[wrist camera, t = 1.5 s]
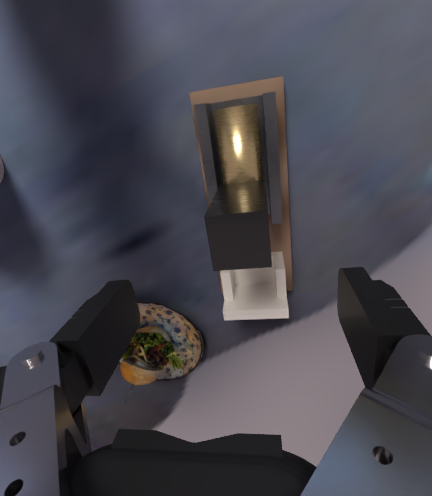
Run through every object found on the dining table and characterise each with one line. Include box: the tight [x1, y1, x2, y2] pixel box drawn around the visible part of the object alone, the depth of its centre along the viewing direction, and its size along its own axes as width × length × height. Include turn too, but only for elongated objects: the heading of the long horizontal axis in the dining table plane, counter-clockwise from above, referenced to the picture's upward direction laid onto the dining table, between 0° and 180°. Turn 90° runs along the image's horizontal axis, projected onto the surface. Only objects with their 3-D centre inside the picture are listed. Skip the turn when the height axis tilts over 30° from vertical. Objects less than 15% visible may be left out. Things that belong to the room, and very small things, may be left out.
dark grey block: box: [204, 103, 272, 271], centre depth 19 cm, size 9×3×10 cm, turn 8°
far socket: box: [220, 251, 289, 320], centre depth 26 cm, size 4×5×5 cm
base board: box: [190, 76, 293, 294], centre depth 26 cm, size 18×7×1 cm, turn 8°
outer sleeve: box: [194, 91, 283, 224], centre depth 23 cm, size 9×5×3 cm, turn 8°
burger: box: [119, 302, 205, 403], centre depth 32 cm, size 12×12×8 cm
